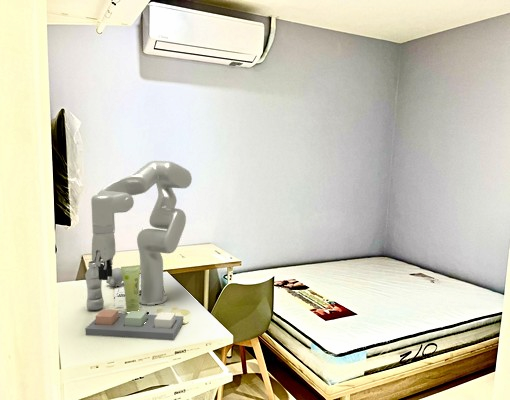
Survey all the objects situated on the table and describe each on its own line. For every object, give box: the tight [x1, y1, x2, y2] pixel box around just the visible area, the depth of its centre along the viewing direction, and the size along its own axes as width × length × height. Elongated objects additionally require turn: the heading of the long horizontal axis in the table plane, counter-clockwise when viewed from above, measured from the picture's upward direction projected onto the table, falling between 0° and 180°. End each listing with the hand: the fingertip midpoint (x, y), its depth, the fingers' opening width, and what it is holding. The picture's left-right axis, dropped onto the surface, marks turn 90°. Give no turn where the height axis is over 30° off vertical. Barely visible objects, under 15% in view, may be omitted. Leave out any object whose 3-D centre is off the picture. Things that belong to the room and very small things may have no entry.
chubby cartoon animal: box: [105, 267, 123, 288], centre depth 197 cm, size 7×12×8 cm, turn 126°
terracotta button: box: [95, 309, 119, 325], centre depth 153 cm, size 6×6×4 cm
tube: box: [120, 264, 141, 313], centre depth 165 cm, size 6×5×20 cm
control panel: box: [84, 312, 184, 341], centre depth 152 cm, size 14×32×2 cm, turn 85°
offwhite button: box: [154, 311, 176, 329], centre depth 151 cm, size 6×6×4 cm
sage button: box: [125, 310, 148, 327], centre depth 152 cm, size 6×6×4 cm
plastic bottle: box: [84, 260, 105, 311], centre depth 168 cm, size 6×7×20 cm
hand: (105, 277), depth 151 cm, fingers open, 3 cm apart
